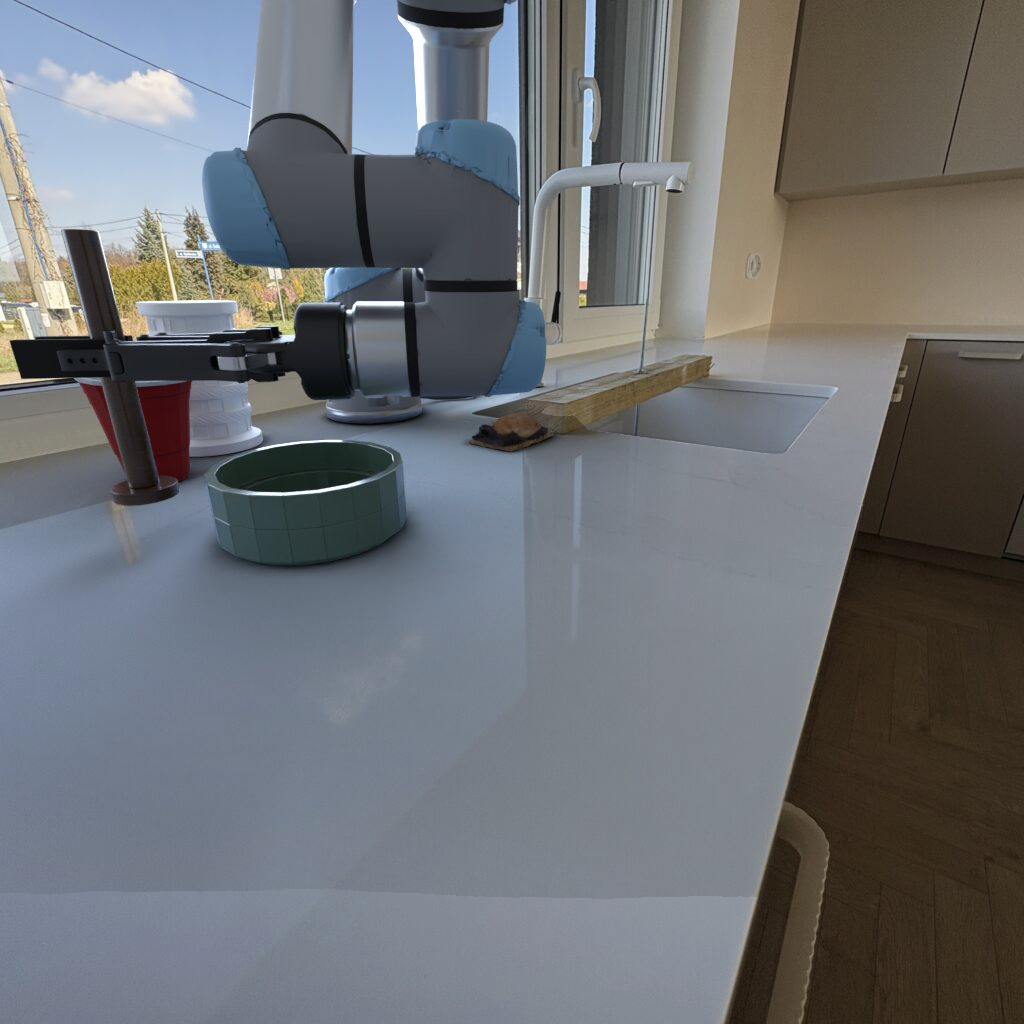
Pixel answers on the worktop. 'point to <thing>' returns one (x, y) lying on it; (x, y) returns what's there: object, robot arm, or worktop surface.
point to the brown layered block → (511, 432)
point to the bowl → (307, 501)
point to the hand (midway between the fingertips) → (31, 357)
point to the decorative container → (212, 404)
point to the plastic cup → (153, 421)
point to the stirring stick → (119, 395)
